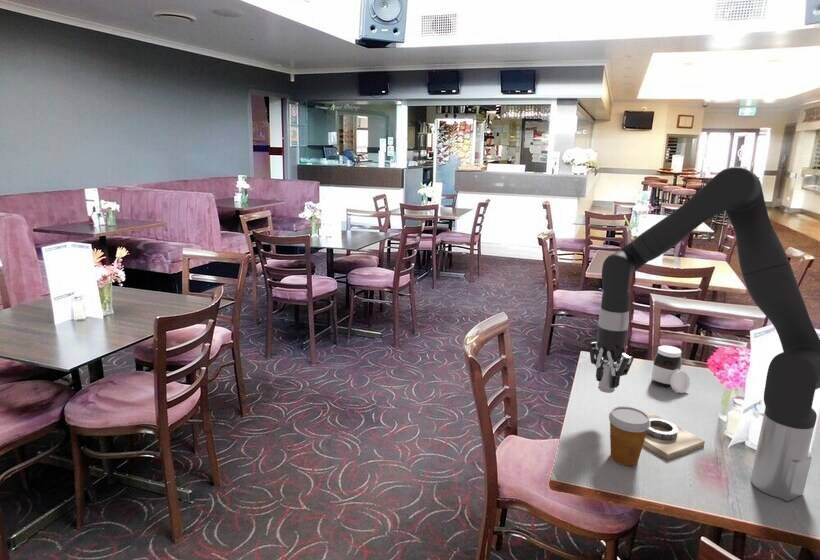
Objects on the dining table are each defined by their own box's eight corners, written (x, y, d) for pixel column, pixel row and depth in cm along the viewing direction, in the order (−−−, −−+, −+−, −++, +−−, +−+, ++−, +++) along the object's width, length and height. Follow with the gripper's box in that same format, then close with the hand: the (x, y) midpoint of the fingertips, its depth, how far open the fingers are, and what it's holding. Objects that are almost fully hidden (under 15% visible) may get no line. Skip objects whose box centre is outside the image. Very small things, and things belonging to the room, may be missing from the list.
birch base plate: (704, 446, 139) (704, 440, 138) (667, 459, 133) (668, 454, 132) (651, 417, 153) (652, 412, 152) (616, 428, 146) (616, 423, 146)
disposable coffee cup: (647, 455, 134) (654, 411, 131) (641, 474, 126) (648, 429, 123) (607, 444, 139) (613, 401, 136) (599, 462, 131) (605, 417, 128)
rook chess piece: (616, 394, 147) (619, 366, 145) (598, 392, 148) (601, 365, 146) (613, 387, 151) (616, 360, 149) (596, 385, 152) (599, 359, 150)
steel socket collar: (683, 436, 141) (684, 429, 140) (662, 443, 137) (663, 437, 136) (657, 421, 148) (658, 415, 147) (636, 428, 144) (637, 422, 143)
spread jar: (657, 374, 181) (662, 342, 178) (693, 384, 174) (699, 351, 171) (645, 386, 172) (650, 352, 169) (683, 397, 165) (689, 362, 162)
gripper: (644, 331, 140) (637, 391, 144) (602, 315, 153) (597, 372, 157) (624, 335, 137) (617, 397, 141) (583, 319, 149) (577, 376, 153)
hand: (606, 383), depth 149 cm, fingers closed on rook chess piece, 4 cm apart
